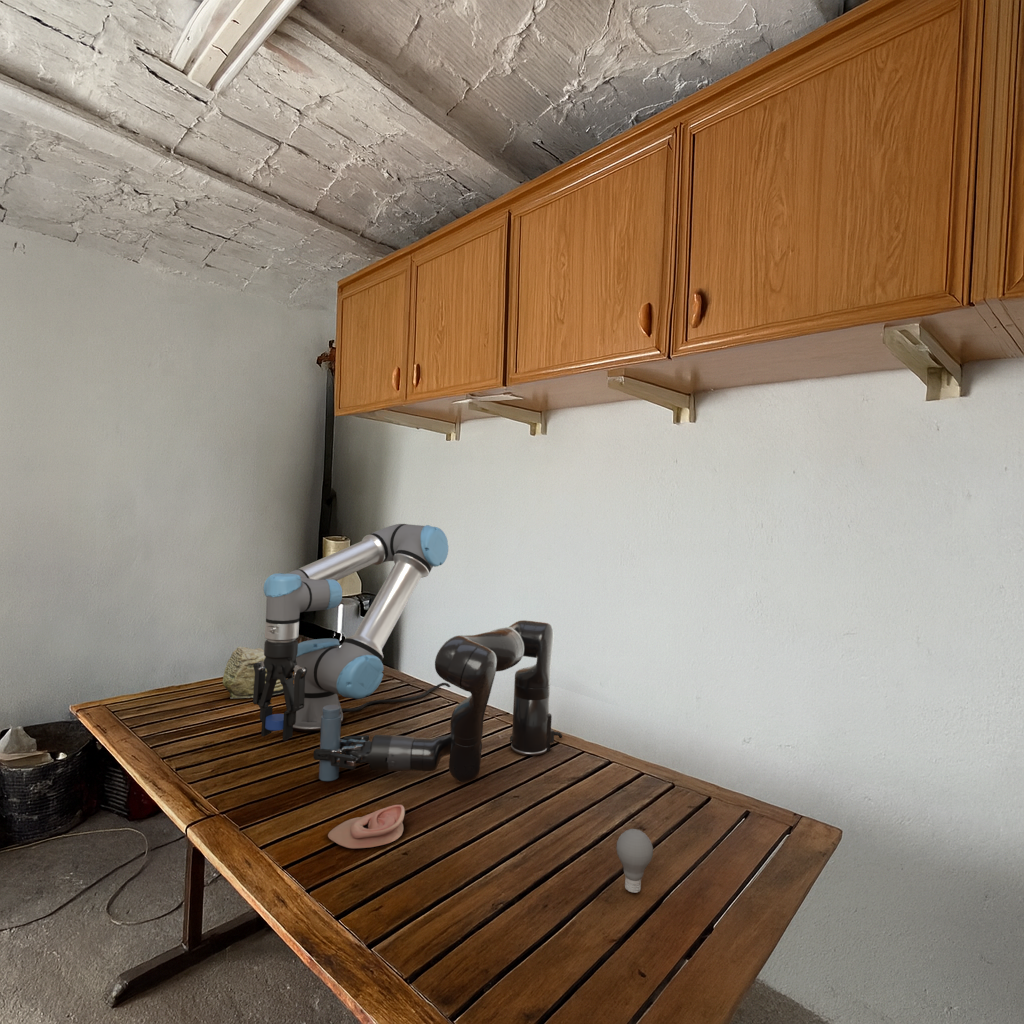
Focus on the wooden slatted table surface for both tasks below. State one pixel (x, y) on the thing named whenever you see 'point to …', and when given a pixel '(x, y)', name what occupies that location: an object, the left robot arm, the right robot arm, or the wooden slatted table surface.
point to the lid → (274, 722)
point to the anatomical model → (370, 828)
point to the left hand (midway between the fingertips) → (276, 736)
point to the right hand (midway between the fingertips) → (318, 749)
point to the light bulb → (634, 857)
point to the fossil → (244, 673)
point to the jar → (329, 740)
